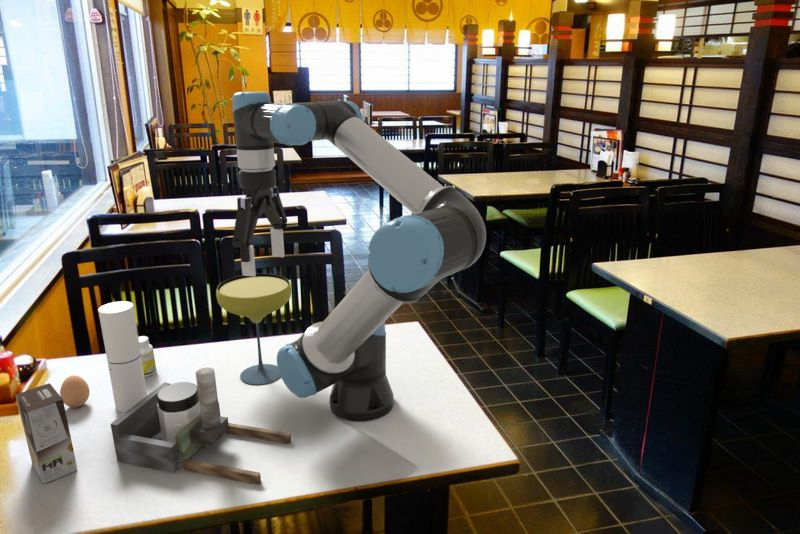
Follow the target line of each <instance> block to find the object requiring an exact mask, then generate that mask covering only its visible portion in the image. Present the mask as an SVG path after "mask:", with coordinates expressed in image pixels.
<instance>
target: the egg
mask: <svg viewBox="0 0 800 534" xmlns="http://www.w3.org/2000/svg"><path fill="white" fill-rule="evenodd" d="M59 391H60V392H59V395H60V396H61V398H62V399H63V402H64V405H65V406H67V407H69V408H73V409H74V408H79V407H80V408H81V407H82V406H83V405H85V403H86V402H87V401H88V399H89V396H90V387H89V385H88V383H87V381H86V380H85V379H84V378H82V376H80V375H75V374H74V375H70V376H68V377H66V378H65V379H63V382H62V384H61V386H60V389H59Z"/></svg>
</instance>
